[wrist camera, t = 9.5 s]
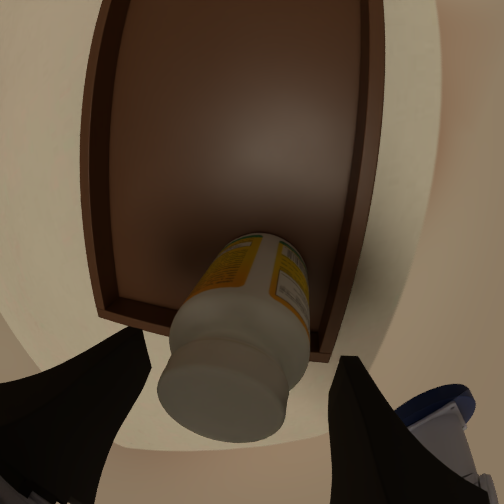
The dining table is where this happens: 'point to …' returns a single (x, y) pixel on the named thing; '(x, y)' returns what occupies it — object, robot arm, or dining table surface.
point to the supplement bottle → (240, 342)
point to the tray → (228, 146)
